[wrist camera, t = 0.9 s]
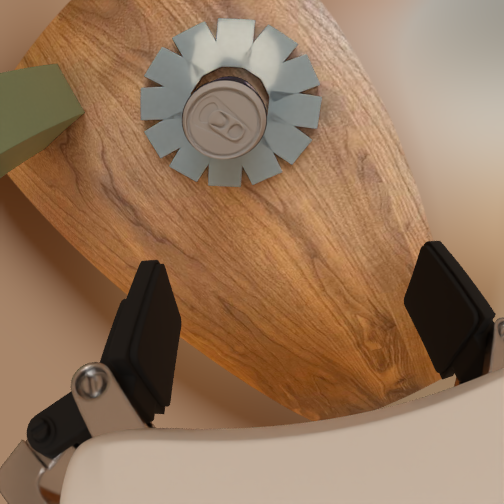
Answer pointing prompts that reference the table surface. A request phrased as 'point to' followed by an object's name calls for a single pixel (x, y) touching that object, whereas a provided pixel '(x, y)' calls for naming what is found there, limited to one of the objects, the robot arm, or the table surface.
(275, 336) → the table surface
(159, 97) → the trivet
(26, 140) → the stand
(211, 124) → the beverage can
